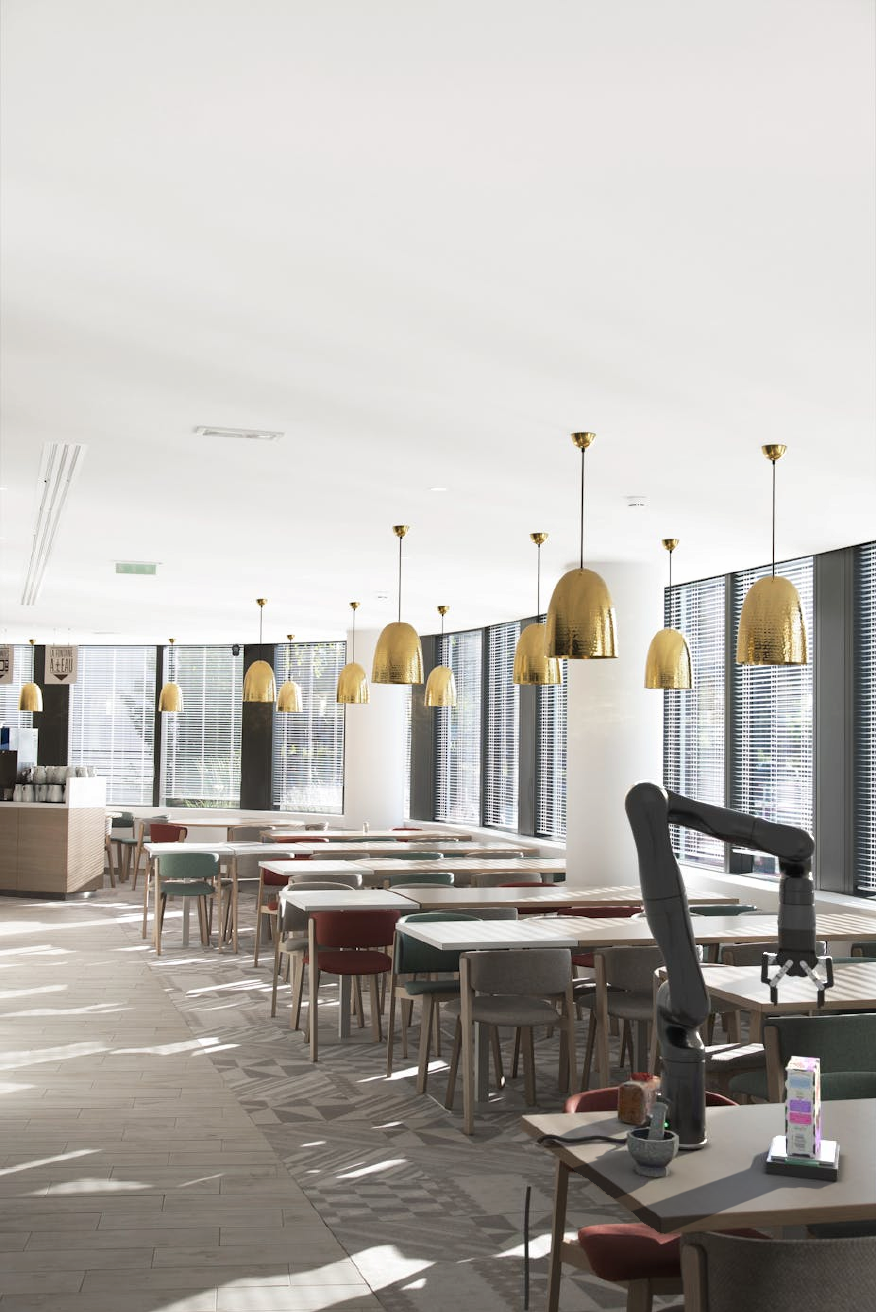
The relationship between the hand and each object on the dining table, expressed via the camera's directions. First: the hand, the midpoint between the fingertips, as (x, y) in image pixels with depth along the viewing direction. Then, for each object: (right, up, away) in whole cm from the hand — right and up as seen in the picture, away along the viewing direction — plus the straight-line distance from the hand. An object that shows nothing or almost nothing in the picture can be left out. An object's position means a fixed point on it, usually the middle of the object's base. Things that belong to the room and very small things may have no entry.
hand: (797, 1007), depth 256 cm
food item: (-27, -32, +25) cm, 49 cm away
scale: (-1, -29, -9) cm, 30 cm away
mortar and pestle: (-32, -28, -15) cm, 44 cm away
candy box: (-1, -26, -7) cm, 27 cm away
